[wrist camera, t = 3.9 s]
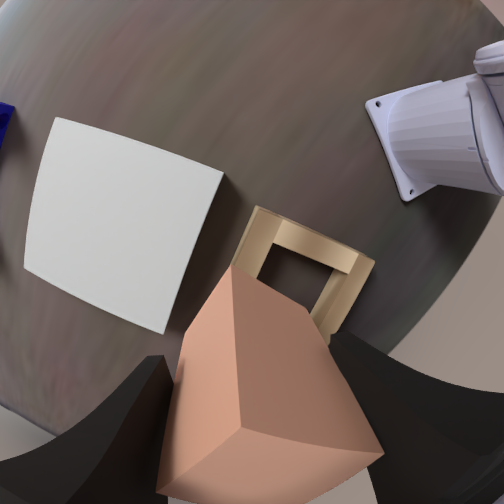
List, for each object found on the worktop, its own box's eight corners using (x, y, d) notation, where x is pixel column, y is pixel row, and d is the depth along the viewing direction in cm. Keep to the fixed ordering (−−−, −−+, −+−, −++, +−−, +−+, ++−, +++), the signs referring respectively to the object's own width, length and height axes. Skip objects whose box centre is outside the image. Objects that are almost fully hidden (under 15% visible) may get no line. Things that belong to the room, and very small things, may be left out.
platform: (224, 172, 17) (223, 172, 15) (169, 316, 19) (163, 334, 17) (73, 121, 15) (55, 116, 12) (41, 257, 17) (23, 267, 15)
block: (305, 308, 12) (384, 453, 4) (256, 367, 13) (282, 514, 5) (230, 264, 11) (240, 426, 4) (185, 333, 12) (155, 492, 4)
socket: (361, 252, 19) (375, 261, 17) (309, 346, 21) (317, 362, 19) (255, 204, 18) (259, 209, 16) (208, 315, 20) (207, 331, 17)
